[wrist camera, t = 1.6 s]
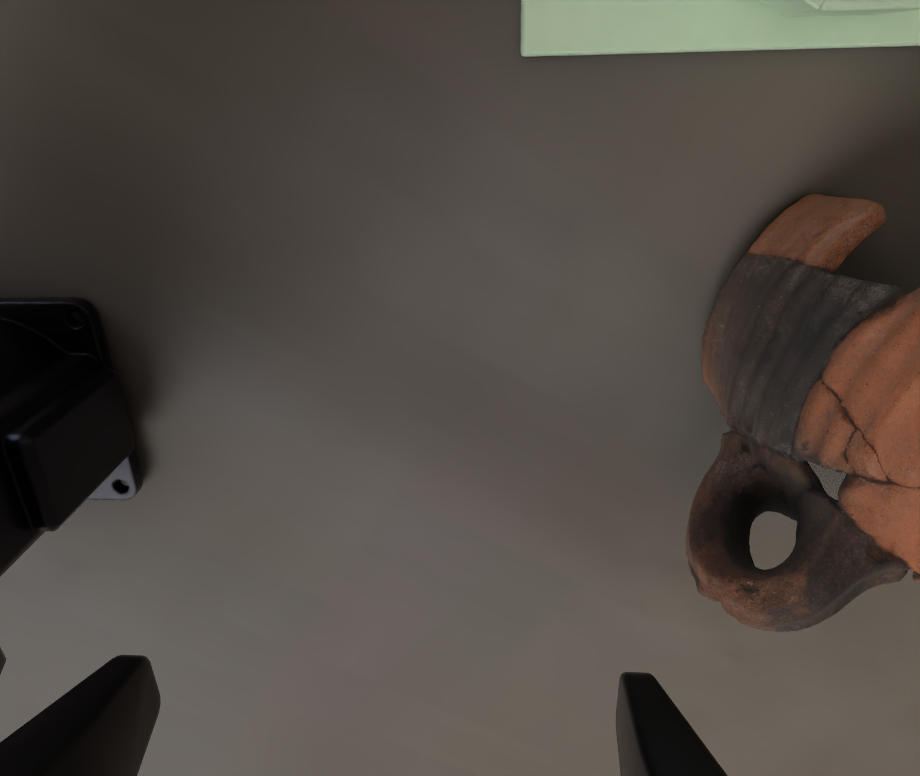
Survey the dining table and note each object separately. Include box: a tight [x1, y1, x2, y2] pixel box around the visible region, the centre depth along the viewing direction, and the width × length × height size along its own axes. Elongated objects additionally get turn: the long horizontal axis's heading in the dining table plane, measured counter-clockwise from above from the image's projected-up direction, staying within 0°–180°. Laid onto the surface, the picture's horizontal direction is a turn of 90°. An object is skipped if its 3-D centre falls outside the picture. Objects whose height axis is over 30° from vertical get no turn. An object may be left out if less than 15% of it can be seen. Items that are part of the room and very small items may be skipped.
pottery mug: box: [686, 194, 920, 632], centre depth 17 cm, size 12×10×8 cm
